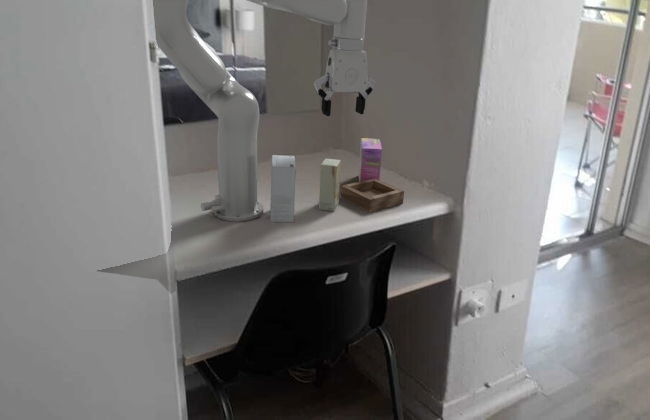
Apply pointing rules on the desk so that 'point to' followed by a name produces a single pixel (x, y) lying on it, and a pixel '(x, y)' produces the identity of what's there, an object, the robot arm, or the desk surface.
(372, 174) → the box
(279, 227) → the desk surface
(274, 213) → the skincare box
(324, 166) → the skincare box
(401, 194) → the shallow wooden tray
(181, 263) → the desk surface
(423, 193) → the desk surface
